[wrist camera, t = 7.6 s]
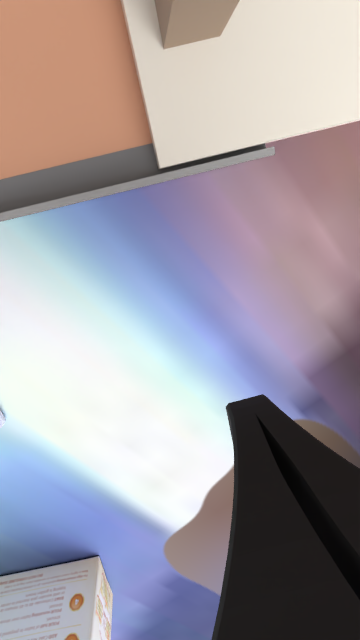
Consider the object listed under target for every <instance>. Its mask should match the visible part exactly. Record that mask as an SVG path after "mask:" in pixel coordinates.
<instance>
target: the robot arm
mask: <svg viewBox="0 0 360 640" xmlns="http://www.w3.org/2000/svg"><path fill="white" fill-rule="evenodd" d="M226 410H227V415H228V420H229V425H230V430H231V435H232V440H233V446H234V498H233V511H232V522H231V531H230V540H229V548H228V555H227V561H226V567H225V574H224V580H223V586H222V592H221V597H220V603H219V608H218V612H217V617H216V622H215V626H214V631H213V636H212V640H360V468H358V467H356V466H355V465H353V464H352V463H350V462H348V461H347V460H346V459H344V458H343V457H341V456H340V455H338V454H337V453H335V452H334V451H333V450H331V449H330V448H328V447H327V446H325V445H324V444H323V443H321V442H320V441H319V440H317V439H316V438H315V437H313V436H312V435H311V434H310V433H308V432H307V431H306V430H304V429H303V428H302V427H301V426H299V425H298V424H297V423H295V422H294V421H293V420H292V419H291V418H290V417H288V416H287V415H286V414H285V413H284V412H283V411H281V410H280V409H279V408H278V407H277V406H276V405H275V404H274V403H273V402H271V401H270V400H269V399H268V398H267V397H266V396H264V395H263V394H262V395H258V396H255V397H251V398H247V399H243V400H240V401H236V402H232V403H228V405H227V406H226ZM4 423H5V417H4V416H3V414H2V412H1V411H0V428H1V427H2V426H3V425H4Z"/></svg>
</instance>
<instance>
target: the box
mask: <svg viewBox="0 0 360 640" xmlns="http://www.w3.org/2000/svg"><path fill="white" fill-rule="evenodd" d="M271 155H275V148H274V147H270V148H266V145H265V144H261V145H257V146H253V147H249V148H245V149H241V150H237V151H233V152H228V153H224V154H220V155H216V156H212V157H208V158H204V159H200V160H196V161H191V162H187V163H183V164H179V165H175V166H171V167H167V168H163V169H158V165H157V160H156V156H155V151H154V147H153V142H152V138H151V134H150V129H149V125H148V120H147V116H146V111H145V107H144V102H143V98H142V93H141V89H140V85H139V80H138V76H137V71H136V67H135V62H134V58H133V53H132V49H131V45H130V40H129V36H128V31H127V27H126V22H125V18H124V13H123V9H122V4H121V0H0V222H1V221H5V220H9V219H13V218H17V217H21V216H26V215H30V214H34V213H38V212H42V211H46V210H50V209H54V208H58V207H62V206H67V205H71V204H75V203H79V202H83V201H87V200H91V199H95V198H99V197H103V196H108V195H112V194H116V193H120V192H124V191H128V190H132V189H136V188H140V187H144V186H148V185H153V184H157V183H161V182H165V181H169V180H173V179H177V178H181V177H185V176H189V175H194V174H198V173H202V172H206V171H210V170H214V169H218V168H222V167H226V166H230V165H235V164H239V163H243V162H247V161H251V160H255V159H259V158H263V157H267V156H271Z"/></svg>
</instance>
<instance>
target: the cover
mask: <svg viewBox="0 0 360 640" xmlns="http://www.w3.org/2000/svg"><path fill="white" fill-rule="evenodd" d="M121 4H122V9H123V13H124V18H125V22H126V27H127V31H128V36H129V40H130V45H131V49H132V53H133V58H134V62H135V67H136V71H137V76H138V80H139V85H140V89H141V93H142V98H143V102H144V107H145V111H146V116H147V120H148V125H149V129H150V134H151V138H152V142H153V147H154V151H155V156H156V160H157V165H158V169H163V168H167V167H171V166H175V165H179V164H183V163H187V162H191V161H196V160H200V159H204V158H208V157H212V156H216V155H220V154H224V153H228V152H233V151H237V150H241V149H245V148H249V147H253V146H257V145H261V144H265V143H270V142H274V141H278V140H282V139H286V138H290V137H294V136H298V135H303V134H307V133H311V132H315V131H319V130H323V129H327V128H331V127H335V126H340V125H344V124H348V123H352V122H356V121H360V0H121Z"/></svg>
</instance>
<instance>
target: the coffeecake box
mask: <svg viewBox="0 0 360 640" xmlns="http://www.w3.org/2000/svg"><path fill="white" fill-rule="evenodd" d="M112 598H113V594H112V591H111V588H110V586H109V583H108V581H107V579H106V575H105V572H104V569H103V566H102V563H101V560H100V558H99V556H97V557H92V558H88V559H83V560H79V561H74V562H69V563H64V564H60V565H55V566H50V567H45V568H40V569H35V570H30V571H26V572H21V573H16V574H11V575H6V576H1V577H0V640H110V638H111V620H112Z"/></svg>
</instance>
